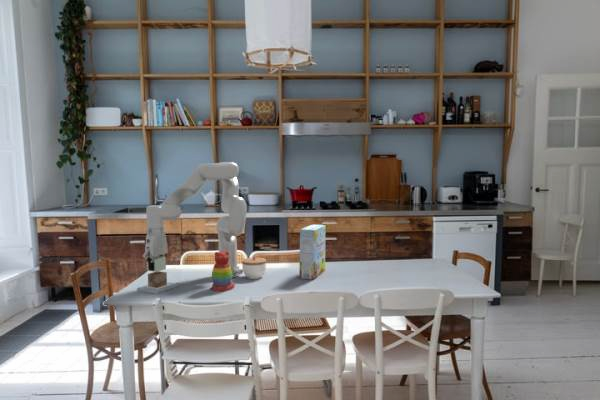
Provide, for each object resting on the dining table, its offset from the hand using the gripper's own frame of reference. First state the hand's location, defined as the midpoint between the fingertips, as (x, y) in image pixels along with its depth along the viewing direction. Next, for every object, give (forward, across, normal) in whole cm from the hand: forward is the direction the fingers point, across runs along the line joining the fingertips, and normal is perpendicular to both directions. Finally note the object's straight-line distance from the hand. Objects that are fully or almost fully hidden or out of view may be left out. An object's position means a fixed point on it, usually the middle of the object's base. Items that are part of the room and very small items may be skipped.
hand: (156, 268), depth 201 cm
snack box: (+9, +53, -58) cm, 79 cm away
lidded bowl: (+10, +36, -32) cm, 49 cm away
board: (+10, 0, 0) cm, 10 cm away
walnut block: (+8, 0, 0) cm, 8 cm away
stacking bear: (+10, +12, -29) cm, 33 cm away
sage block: (+1, 0, 0) cm, 1 cm away
